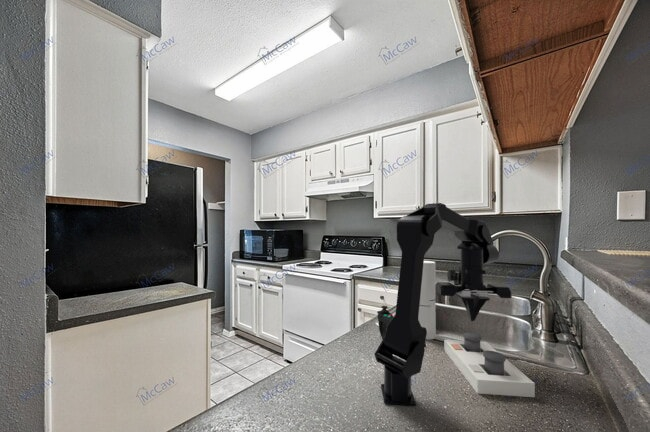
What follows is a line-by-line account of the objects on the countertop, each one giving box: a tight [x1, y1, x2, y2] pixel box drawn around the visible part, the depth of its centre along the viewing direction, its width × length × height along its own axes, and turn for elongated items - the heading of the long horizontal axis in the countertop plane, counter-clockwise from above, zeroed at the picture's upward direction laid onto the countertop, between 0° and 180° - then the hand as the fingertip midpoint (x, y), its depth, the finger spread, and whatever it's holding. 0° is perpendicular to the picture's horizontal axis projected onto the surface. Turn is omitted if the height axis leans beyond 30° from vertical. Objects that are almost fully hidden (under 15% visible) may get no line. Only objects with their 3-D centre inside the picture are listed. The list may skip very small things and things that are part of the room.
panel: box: [443, 339, 536, 398], centre depth 73 cm, size 22×12×3 cm, turn 175°
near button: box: [483, 351, 507, 376], centre depth 67 cm, size 5×5×4 cm
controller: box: [376, 305, 394, 340], centre depth 91 cm, size 4×12×10 cm, turn 8°
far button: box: [462, 331, 482, 352], centre depth 79 cm, size 5×5×4 cm
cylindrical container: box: [418, 260, 437, 341], centre depth 96 cm, size 7×7×25 cm
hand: (472, 320), depth 79 cm, fingers closed
